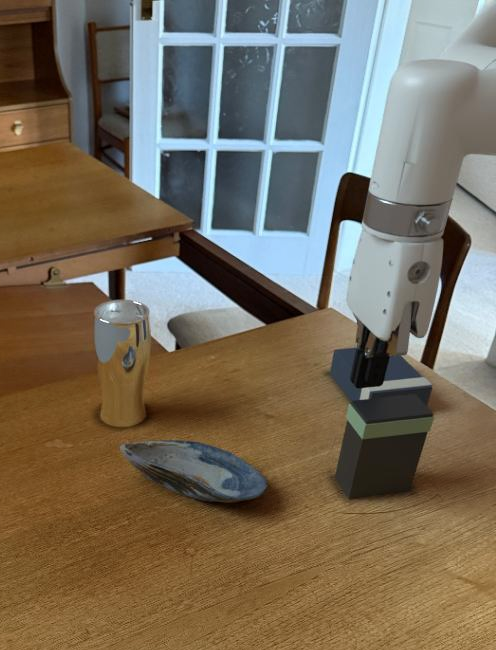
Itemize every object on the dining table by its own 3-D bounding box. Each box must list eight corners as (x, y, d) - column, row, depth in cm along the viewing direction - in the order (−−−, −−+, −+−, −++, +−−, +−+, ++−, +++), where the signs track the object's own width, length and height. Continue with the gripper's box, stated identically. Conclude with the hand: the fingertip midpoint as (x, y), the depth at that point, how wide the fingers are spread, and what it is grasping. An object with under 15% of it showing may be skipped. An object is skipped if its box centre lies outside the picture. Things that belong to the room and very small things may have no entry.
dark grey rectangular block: (393, 475, 86) (415, 393, 79) (410, 497, 83) (435, 413, 76) (331, 482, 85) (349, 400, 78) (346, 505, 82) (366, 421, 75)
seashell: (135, 538, 79) (135, 502, 75) (117, 469, 88) (116, 434, 85) (274, 522, 80) (280, 485, 77) (242, 455, 90) (246, 421, 87)
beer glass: (156, 409, 98) (158, 302, 89) (140, 438, 93) (141, 327, 84) (106, 401, 100) (103, 295, 90) (88, 429, 95) (83, 319, 85)
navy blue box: (390, 343, 101) (434, 386, 92) (383, 373, 104) (424, 418, 95) (333, 348, 101) (371, 392, 91) (327, 379, 104) (363, 425, 94)
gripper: (485, 238, 65) (430, 416, 77) (406, 187, 76) (369, 349, 88) (404, 244, 64) (361, 423, 76) (336, 192, 75) (308, 355, 87)
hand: (365, 383), depth 82 cm, fingers closed
